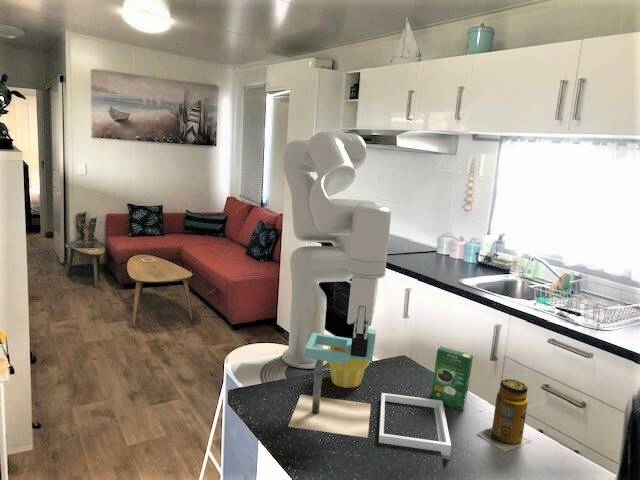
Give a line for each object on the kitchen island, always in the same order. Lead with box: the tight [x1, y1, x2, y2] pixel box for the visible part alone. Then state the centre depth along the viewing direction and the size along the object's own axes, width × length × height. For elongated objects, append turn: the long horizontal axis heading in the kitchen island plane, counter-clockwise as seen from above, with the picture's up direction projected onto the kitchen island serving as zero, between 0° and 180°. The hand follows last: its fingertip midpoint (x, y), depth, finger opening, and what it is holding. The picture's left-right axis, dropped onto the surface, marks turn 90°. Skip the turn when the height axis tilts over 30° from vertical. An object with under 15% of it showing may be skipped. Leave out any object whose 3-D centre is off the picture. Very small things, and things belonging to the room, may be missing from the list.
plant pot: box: [327, 346, 370, 389], centre depth 122 cm, size 10×10×10 cm
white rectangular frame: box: [378, 392, 452, 461], centre depth 105 cm, size 18×14×3 cm
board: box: [287, 394, 372, 439], centre depth 106 cm, size 14×16×2 cm
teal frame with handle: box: [304, 328, 377, 365], centre depth 104 cm, size 9×14×6 cm, turn 82°
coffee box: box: [430, 345, 474, 411], centre depth 117 cm, size 8×3×13 cm, turn 59°
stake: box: [312, 360, 324, 414], centre depth 106 cm, size 5×2×11 cm, turn 172°
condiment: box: [476, 378, 532, 452], centre depth 104 cm, size 7×8×12 cm
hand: (359, 352), depth 103 cm, fingers closed on teal frame with handle
